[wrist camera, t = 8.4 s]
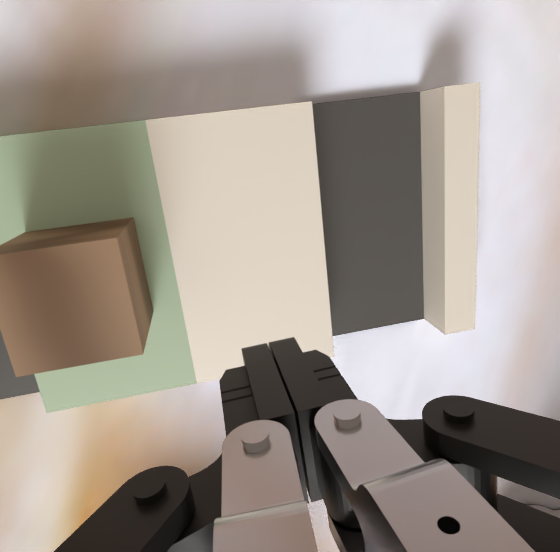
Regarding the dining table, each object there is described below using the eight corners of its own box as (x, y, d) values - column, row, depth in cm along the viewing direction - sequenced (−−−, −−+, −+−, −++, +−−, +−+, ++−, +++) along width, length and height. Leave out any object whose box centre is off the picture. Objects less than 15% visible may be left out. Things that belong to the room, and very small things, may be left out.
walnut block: (133, 217, 22) (116, 237, 17) (153, 311, 23) (143, 354, 19) (25, 232, 21) (-24, 257, 16) (53, 328, 23) (15, 377, 18)
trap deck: (449, 89, 26) (480, 82, 23) (448, 311, 30) (475, 328, 27) (-191, 161, 21) (-250, 164, 18) (-84, 411, 25) (-119, 445, 23)
